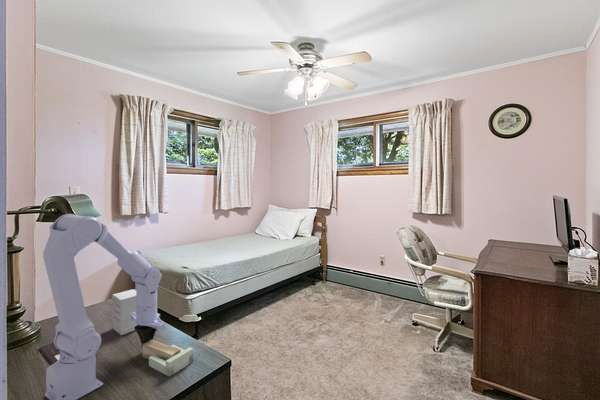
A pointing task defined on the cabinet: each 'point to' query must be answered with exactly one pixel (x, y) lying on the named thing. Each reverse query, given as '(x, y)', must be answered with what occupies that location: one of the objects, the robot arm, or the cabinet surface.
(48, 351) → the chocolate bar
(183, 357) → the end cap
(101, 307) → the cabinet surface
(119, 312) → the supplement box
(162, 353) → the tan wooden block
